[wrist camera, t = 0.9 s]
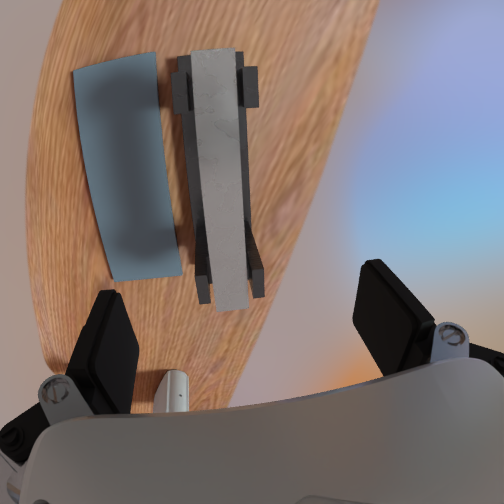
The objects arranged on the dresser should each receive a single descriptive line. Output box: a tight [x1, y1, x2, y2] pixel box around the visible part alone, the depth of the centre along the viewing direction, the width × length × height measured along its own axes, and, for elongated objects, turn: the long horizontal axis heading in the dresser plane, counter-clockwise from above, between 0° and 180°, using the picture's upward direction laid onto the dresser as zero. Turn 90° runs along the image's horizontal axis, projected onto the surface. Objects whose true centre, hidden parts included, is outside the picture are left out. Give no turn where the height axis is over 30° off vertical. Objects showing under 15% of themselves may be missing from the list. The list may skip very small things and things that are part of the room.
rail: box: [191, 48, 249, 312], centre depth 24 cm, size 22×3×2 cm, turn 2°
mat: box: [73, 52, 182, 282], centre depth 31 cm, size 26×9×1 cm, turn 2°
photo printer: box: [153, 370, 189, 413], centre depth 43 cm, size 10×4×12 cm, turn 152°
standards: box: [171, 51, 265, 304], centre depth 27 cm, size 24×6×11 cm, turn 2°
